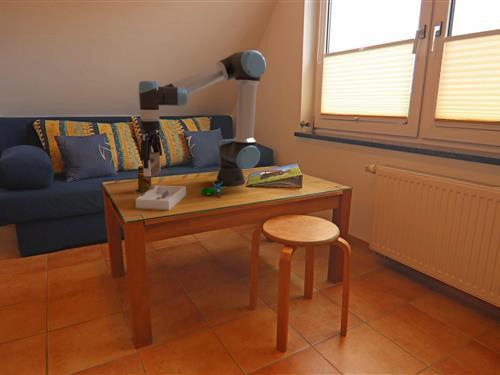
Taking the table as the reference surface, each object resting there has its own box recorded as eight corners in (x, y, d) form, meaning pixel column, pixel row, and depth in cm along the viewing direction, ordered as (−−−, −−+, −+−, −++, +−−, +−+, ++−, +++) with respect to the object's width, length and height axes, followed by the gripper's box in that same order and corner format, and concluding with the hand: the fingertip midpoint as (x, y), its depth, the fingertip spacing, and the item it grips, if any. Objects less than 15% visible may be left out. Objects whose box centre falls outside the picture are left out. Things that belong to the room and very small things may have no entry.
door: (162, 172, 152) (161, 152, 150) (153, 177, 142) (152, 156, 140) (153, 172, 152) (152, 152, 150) (144, 177, 143) (142, 155, 141)
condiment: (152, 192, 163) (150, 168, 160) (133, 193, 161) (131, 168, 158) (152, 188, 170) (151, 164, 167) (134, 189, 168) (133, 165, 165)
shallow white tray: (185, 195, 160) (185, 186, 159) (169, 210, 139) (168, 200, 138) (156, 193, 162) (156, 184, 160) (136, 208, 141) (135, 198, 139)
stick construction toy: (226, 188, 164) (223, 178, 158) (229, 199, 160) (226, 189, 154) (202, 195, 164) (198, 185, 158) (205, 207, 160) (200, 197, 154)
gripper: (152, 118, 153) (154, 167, 159) (128, 121, 131) (132, 178, 137) (168, 118, 152) (170, 168, 158) (147, 122, 130) (150, 179, 136)
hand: (152, 173), depth 147 cm, fingers closed on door, 10 cm apart
